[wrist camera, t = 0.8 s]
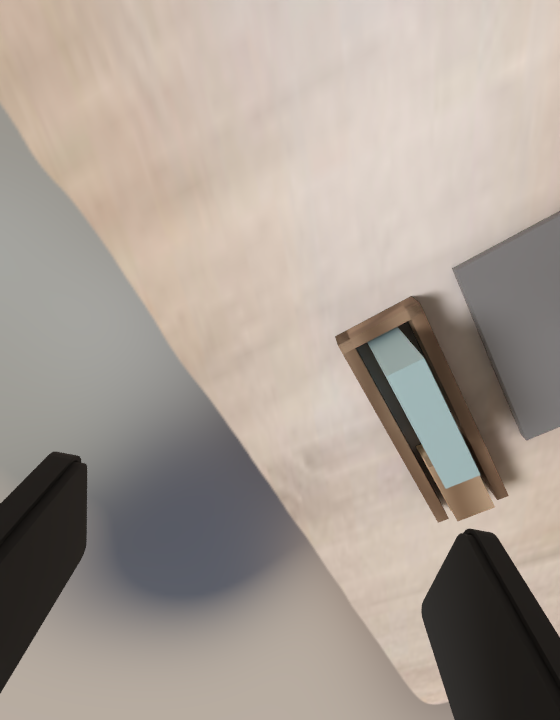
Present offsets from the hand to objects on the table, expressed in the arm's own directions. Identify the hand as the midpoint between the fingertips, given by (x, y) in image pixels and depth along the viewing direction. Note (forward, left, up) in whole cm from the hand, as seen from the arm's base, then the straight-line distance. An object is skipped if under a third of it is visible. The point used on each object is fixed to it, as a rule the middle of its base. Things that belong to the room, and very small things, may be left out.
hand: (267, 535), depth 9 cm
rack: (-6, +17, -27) cm, 33 cm away
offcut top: (-6, +25, -25) cm, 36 cm away
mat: (-21, +15, -27) cm, 38 cm away
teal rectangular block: (-6, +13, -27) cm, 31 cm away
